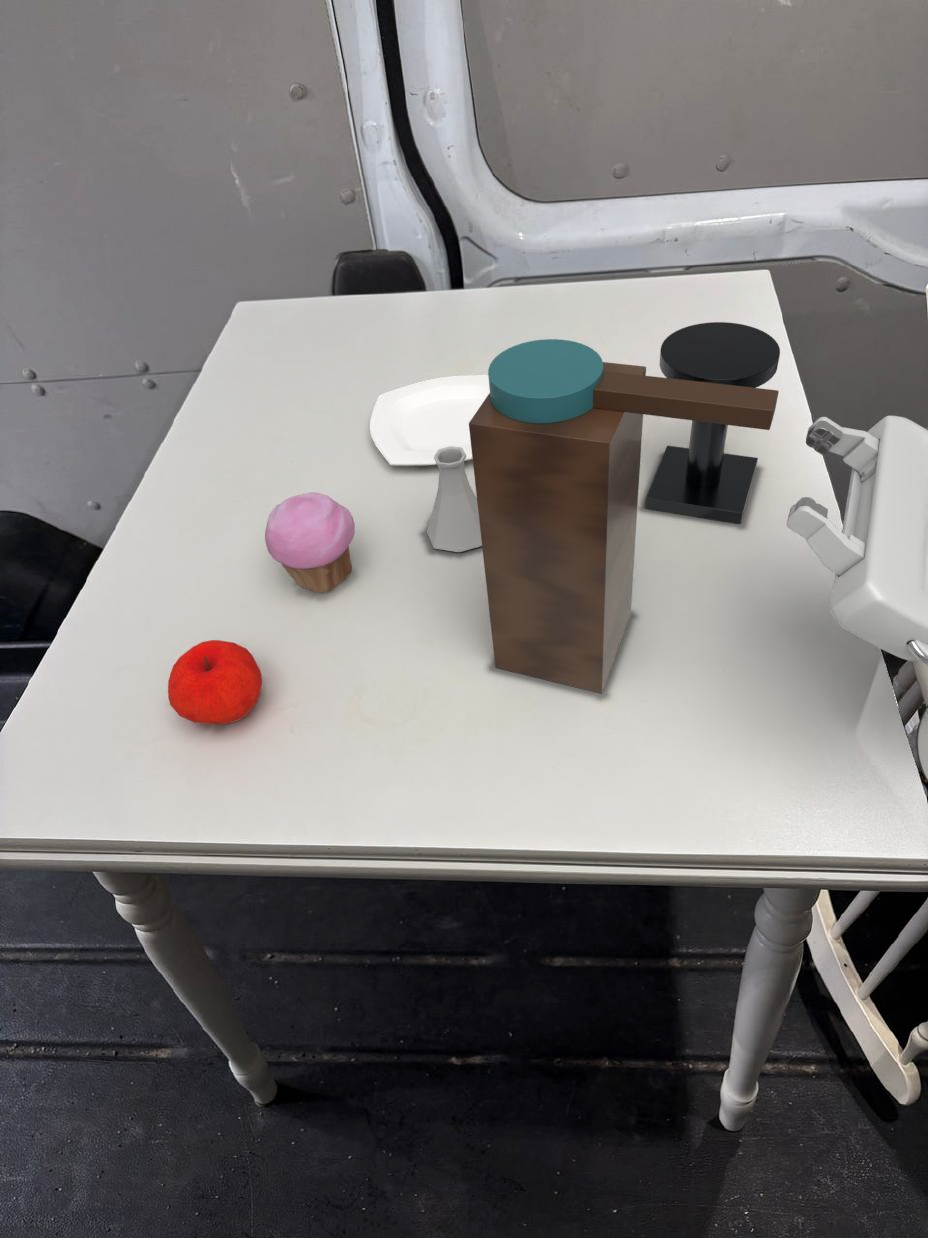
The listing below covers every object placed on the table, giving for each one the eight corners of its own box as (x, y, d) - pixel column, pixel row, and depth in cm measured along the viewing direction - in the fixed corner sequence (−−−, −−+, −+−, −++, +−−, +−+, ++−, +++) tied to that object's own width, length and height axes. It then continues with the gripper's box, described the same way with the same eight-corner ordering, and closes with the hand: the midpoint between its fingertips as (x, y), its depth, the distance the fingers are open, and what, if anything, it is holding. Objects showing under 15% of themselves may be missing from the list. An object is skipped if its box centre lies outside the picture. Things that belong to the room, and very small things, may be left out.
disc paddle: (781, 388, 57) (786, 361, 56) (763, 455, 52) (768, 427, 51) (512, 358, 63) (510, 334, 62) (473, 415, 58) (471, 389, 57)
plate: (540, 459, 98) (540, 445, 97) (378, 488, 97) (375, 474, 96) (509, 378, 111) (508, 365, 110) (366, 403, 111) (364, 389, 109)
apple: (184, 755, 73) (153, 703, 68) (184, 688, 78) (156, 635, 73) (275, 733, 74) (251, 679, 68) (268, 668, 79) (246, 613, 74)
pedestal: (630, 615, 79) (646, 366, 61) (601, 693, 73) (609, 443, 55) (530, 594, 83) (516, 352, 64) (495, 668, 76) (468, 423, 58)
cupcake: (381, 566, 88) (363, 489, 81) (332, 619, 83) (308, 543, 76) (315, 543, 91) (292, 468, 84) (264, 593, 87) (236, 518, 79)
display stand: (761, 466, 93) (787, 327, 81) (744, 528, 86) (771, 385, 74) (662, 452, 97) (674, 317, 85) (639, 510, 90) (648, 372, 78)
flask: (493, 552, 87) (486, 474, 80) (425, 556, 88) (411, 479, 81) (493, 508, 93) (486, 431, 85) (428, 513, 93) (416, 437, 86)
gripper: (926, 709, 53) (747, 594, 52) (936, 513, 66) (792, 418, 65) (1014, 665, 48) (818, 537, 47) (1006, 462, 61) (852, 357, 60)
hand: (803, 466), depth 56 cm, fingers open, 8 cm apart
